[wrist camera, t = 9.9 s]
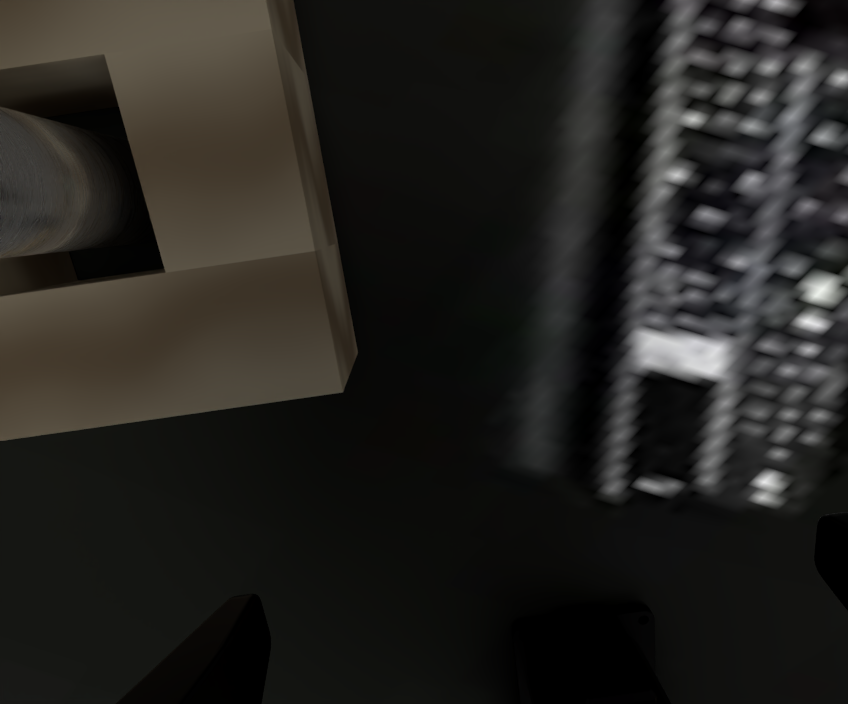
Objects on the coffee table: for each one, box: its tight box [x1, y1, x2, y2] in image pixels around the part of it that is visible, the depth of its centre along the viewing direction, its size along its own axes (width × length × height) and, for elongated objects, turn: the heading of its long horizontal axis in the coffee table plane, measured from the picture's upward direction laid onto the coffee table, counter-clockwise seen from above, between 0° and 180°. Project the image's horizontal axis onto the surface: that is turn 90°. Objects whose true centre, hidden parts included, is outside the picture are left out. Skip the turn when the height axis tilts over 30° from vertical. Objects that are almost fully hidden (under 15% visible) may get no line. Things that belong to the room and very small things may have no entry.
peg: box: [0, 107, 156, 258], centre depth 13 cm, size 4×4×8 cm
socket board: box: [0, 0, 358, 441], centre depth 15 cm, size 14×14×4 cm
